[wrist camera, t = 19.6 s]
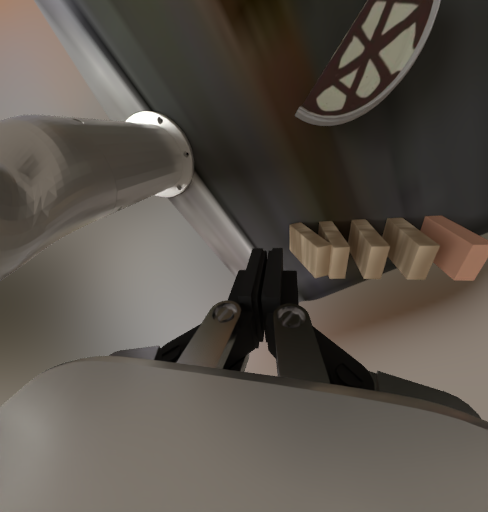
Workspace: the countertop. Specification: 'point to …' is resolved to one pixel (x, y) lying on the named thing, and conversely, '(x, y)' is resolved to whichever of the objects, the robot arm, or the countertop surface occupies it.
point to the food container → (370, 60)
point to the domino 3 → (367, 249)
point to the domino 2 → (335, 249)
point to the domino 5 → (456, 248)
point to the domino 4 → (409, 248)
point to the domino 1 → (310, 249)
